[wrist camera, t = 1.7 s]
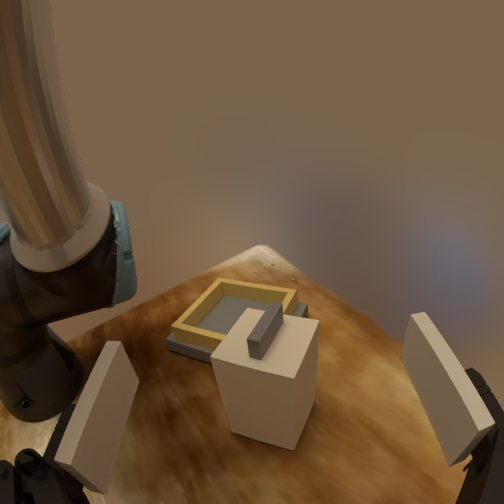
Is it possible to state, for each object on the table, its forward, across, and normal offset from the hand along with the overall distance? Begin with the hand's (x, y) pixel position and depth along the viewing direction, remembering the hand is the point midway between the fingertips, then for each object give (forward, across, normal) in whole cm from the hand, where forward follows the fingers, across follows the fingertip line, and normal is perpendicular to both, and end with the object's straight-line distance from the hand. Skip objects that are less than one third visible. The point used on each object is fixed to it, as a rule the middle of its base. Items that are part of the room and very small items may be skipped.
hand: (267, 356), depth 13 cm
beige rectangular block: (+10, 0, -20) cm, 22 cm away
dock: (+25, -4, -19) cm, 32 cm away
